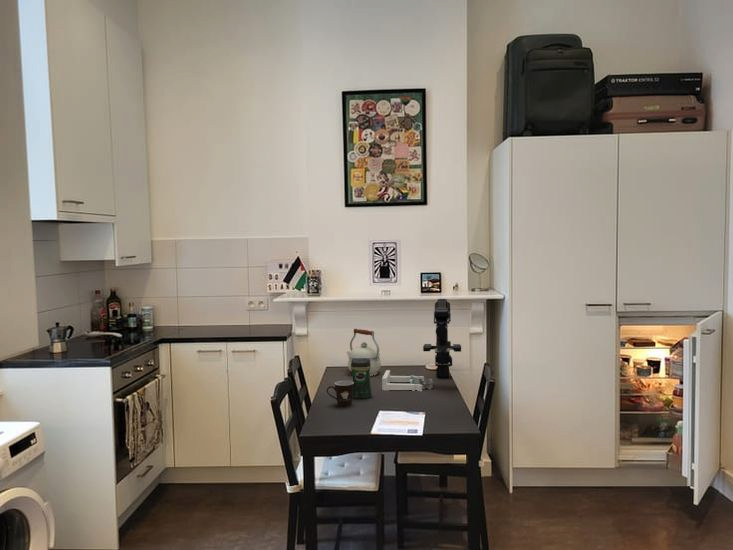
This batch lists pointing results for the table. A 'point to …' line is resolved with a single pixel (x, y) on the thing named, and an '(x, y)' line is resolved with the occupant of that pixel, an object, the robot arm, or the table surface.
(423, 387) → the egg carton
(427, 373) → the table surface
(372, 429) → the table surface
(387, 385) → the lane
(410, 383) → the bar
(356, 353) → the kettle
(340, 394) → the coffee mug
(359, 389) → the coffee jar
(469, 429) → the table surface
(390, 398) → the table surface
